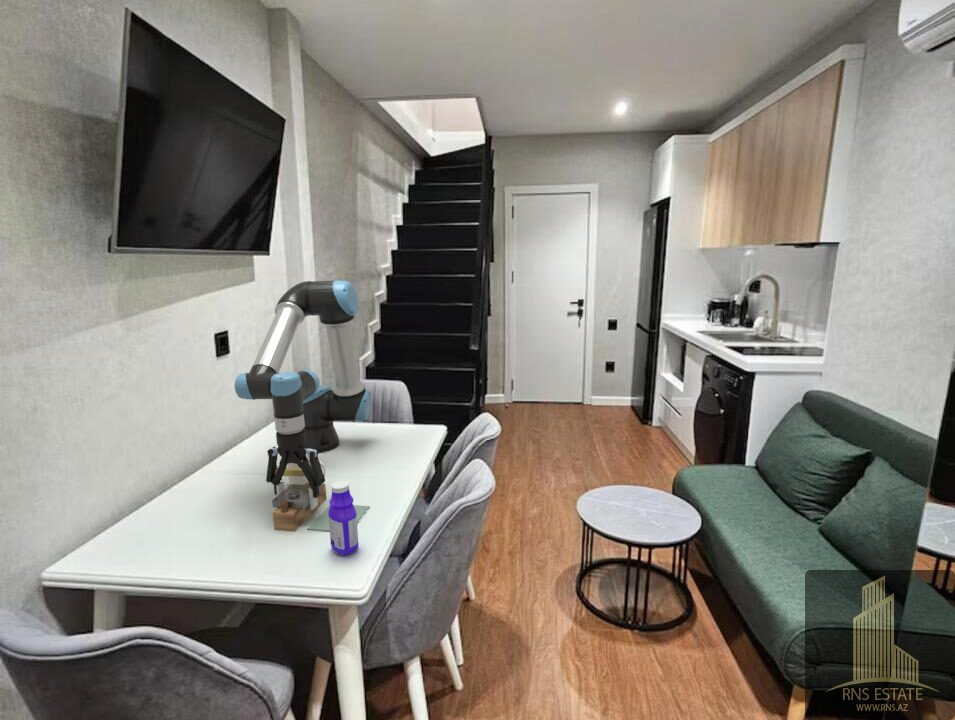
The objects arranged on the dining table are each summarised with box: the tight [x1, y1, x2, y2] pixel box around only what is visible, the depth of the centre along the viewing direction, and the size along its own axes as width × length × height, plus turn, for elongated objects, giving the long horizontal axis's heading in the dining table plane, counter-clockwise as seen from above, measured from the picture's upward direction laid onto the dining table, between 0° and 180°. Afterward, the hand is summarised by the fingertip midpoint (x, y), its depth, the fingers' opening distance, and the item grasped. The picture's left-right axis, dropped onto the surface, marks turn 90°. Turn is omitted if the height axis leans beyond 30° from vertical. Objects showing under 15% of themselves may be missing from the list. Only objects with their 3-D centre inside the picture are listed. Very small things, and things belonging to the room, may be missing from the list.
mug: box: [287, 449, 326, 486], centre depth 158 cm, size 9×12×11 cm
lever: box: [275, 460, 312, 477], centre depth 147 cm, size 14×4×4 cm, turn 87°
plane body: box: [272, 483, 327, 532], centre depth 141 cm, size 18×6×11 cm, turn 170°
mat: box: [307, 504, 371, 533], centre depth 139 cm, size 14×12×1 cm
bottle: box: [328, 480, 359, 556], centre depth 122 cm, size 7×6×17 cm
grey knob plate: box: [271, 484, 321, 510], centre depth 139 cm, size 10×9×3 cm
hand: (298, 506), depth 140 cm, fingers closed on grey knob plate, 9 cm apart
